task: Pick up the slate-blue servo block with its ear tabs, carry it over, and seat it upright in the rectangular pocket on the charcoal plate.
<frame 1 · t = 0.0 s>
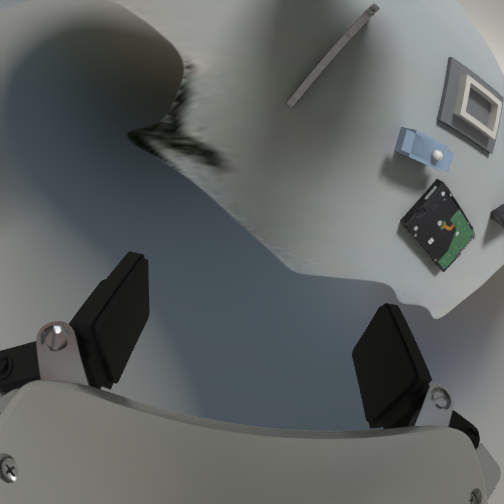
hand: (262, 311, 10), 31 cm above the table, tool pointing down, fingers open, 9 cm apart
mini dv tape: (502, 207, 37), on the table
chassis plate: (472, 106, 29), on the table
servo block: (413, 145, 34), on the table
disk drive: (437, 224, 41), on the table
caliper: (330, 54, 29), on the table
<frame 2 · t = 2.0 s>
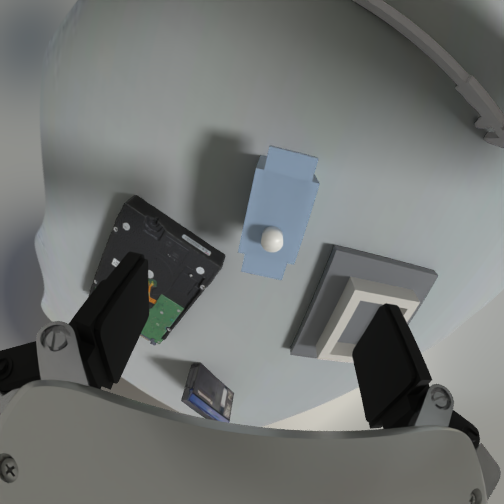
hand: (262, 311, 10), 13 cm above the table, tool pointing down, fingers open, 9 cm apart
mini dv tape: (214, 378, 35), on the table
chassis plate: (361, 313, 27), on the table
servo block: (276, 195, 22), on the table
disk drive: (151, 272, 28), on the table
caliper: (420, 55, 15), on the table
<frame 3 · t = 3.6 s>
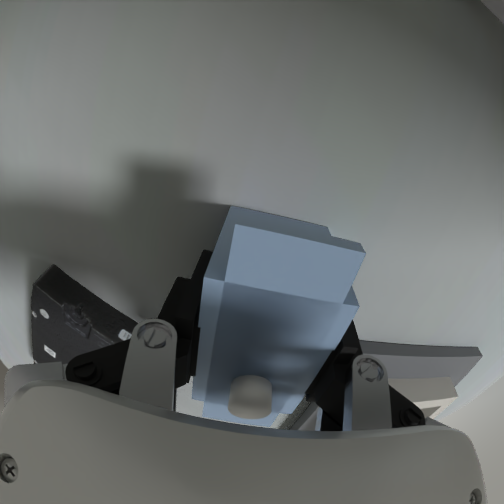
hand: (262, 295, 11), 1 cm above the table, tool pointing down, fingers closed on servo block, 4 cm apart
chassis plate: (379, 402, 18), on the table
servo block: (263, 277, 12), on the table, touching gripper
disk drive: (99, 355, 18), on the table
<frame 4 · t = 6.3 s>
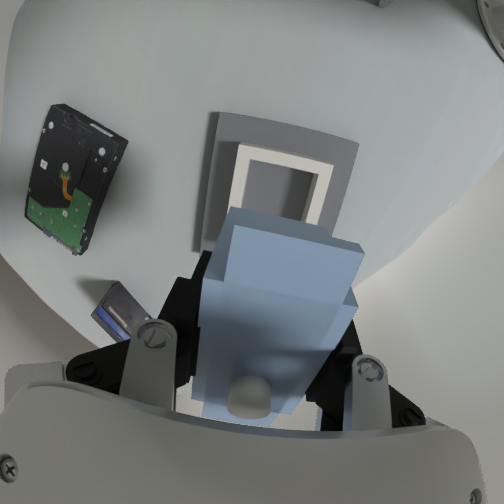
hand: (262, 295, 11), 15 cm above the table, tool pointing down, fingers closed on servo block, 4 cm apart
mini dv tape: (136, 305, 33), on the table
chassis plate: (274, 198, 25), on the table
servo block: (263, 277, 12), point 14 cm above the table, touching gripper
disk drive: (74, 177, 25), on the table
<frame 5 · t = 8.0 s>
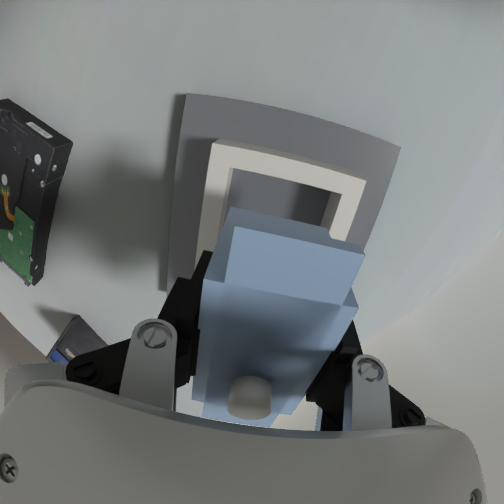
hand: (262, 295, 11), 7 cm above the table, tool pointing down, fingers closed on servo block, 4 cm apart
mini dv tape: (102, 342, 25), on the table
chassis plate: (269, 225, 17), on the table
servo block: (263, 278, 12), point 5 cm above the table, touching gripper
disk drive: (22, 190, 17), on the table
when the fingers open (4 cm above the table, at t = 9.3 s): servo block drops 2 cm, resting on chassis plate.
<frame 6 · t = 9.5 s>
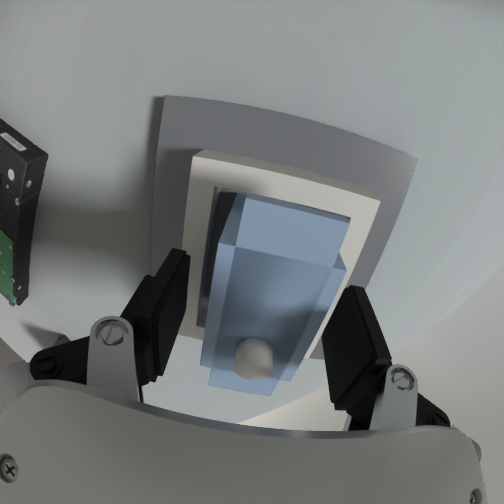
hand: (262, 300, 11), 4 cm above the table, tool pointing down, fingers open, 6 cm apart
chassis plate: (265, 248, 15), on the table
servo block: (265, 257, 14), point 1 cm above the table, touching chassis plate
disk drive: (2, 205, 15), on the table
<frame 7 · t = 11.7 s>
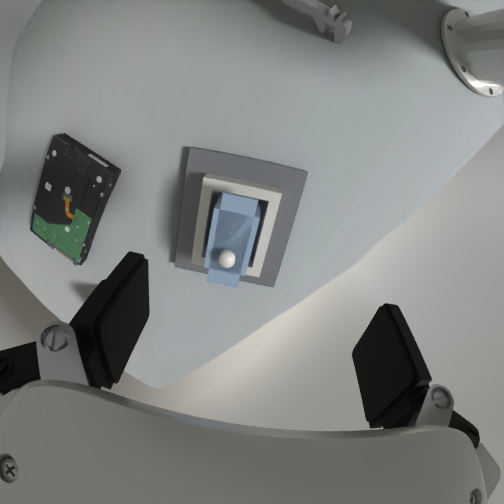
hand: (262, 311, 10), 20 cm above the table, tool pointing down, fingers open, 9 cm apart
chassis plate: (235, 219, 30), on the table
servo block: (235, 223, 29), point 1 cm above the table, touching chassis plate
disk drive: (75, 198, 30), on the table
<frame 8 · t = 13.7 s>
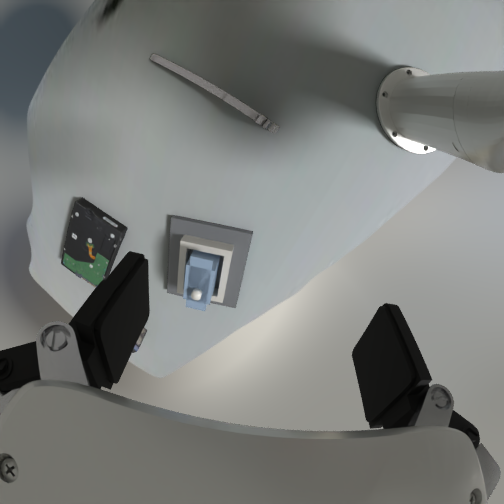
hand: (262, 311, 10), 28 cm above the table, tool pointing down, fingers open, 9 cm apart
mini dv tape: (132, 317, 51), on the table
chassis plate: (206, 263, 43), on the table
servo block: (205, 266, 42), point 1 cm above the table, touching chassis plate
disk drive: (95, 242, 43), on the table
caliper: (212, 87, 31), on the table
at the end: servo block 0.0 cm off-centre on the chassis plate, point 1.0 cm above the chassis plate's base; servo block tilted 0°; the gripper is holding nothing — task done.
